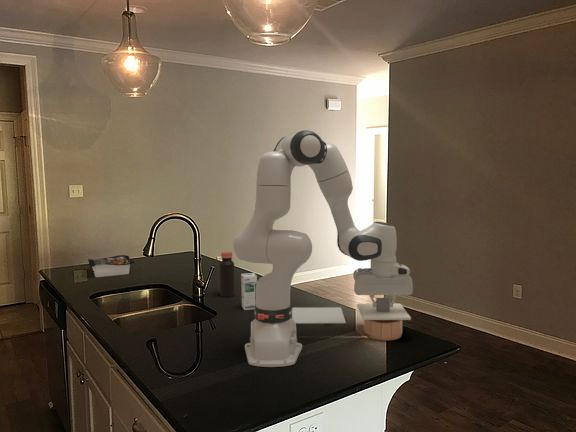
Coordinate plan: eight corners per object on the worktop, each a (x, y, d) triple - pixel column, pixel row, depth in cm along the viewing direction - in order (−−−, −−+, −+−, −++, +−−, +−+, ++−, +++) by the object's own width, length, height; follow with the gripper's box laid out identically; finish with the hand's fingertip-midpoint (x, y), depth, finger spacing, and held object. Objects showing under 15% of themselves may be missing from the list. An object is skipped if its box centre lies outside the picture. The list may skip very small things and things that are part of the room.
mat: (345, 325, 180) (345, 323, 180) (292, 325, 181) (292, 323, 180) (340, 309, 200) (340, 307, 200) (292, 309, 200) (292, 307, 200)
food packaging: (134, 261, 267) (90, 265, 257) (135, 275, 268) (91, 279, 258) (128, 254, 289) (87, 258, 280) (128, 267, 290) (88, 270, 280)
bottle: (236, 293, 227) (235, 251, 225) (233, 297, 220) (232, 254, 218) (222, 293, 227) (221, 251, 225) (218, 297, 221) (217, 253, 219)
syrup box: (244, 310, 200) (243, 276, 199) (241, 306, 206) (241, 273, 204) (257, 309, 202) (257, 275, 200) (254, 305, 207) (254, 272, 206)
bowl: (405, 340, 165) (405, 323, 164) (366, 340, 165) (367, 323, 164) (397, 327, 177) (397, 311, 177) (361, 327, 178) (361, 311, 177)
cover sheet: (410, 319, 163) (411, 305, 162) (363, 319, 163) (363, 306, 162) (400, 305, 179) (400, 293, 178) (356, 305, 179) (356, 293, 178)
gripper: (354, 270, 166) (354, 309, 167) (414, 270, 166) (413, 309, 167) (352, 266, 172) (352, 304, 174) (410, 266, 172) (409, 304, 173)
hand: (382, 306), depth 170 cm, fingers closed on cover sheet, 4 cm apart
